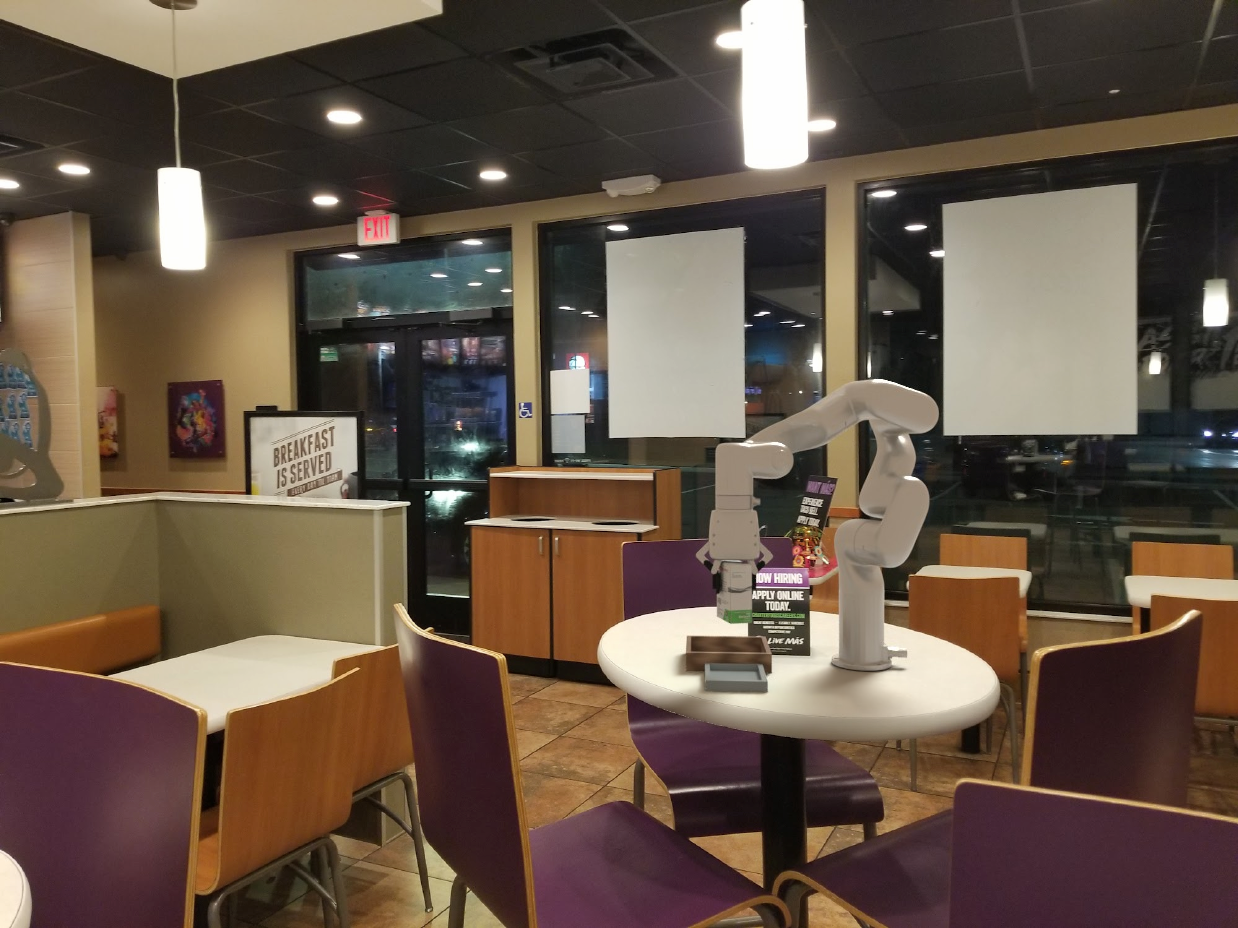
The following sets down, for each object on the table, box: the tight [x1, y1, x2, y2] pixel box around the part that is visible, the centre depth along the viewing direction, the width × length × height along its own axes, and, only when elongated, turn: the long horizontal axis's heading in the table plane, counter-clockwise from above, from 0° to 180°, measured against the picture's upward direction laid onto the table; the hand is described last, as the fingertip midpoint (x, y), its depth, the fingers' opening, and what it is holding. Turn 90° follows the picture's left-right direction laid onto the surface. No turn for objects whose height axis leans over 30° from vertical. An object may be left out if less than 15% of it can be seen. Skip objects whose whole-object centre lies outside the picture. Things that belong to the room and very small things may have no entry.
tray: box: [704, 663, 769, 693], centre depth 177 cm, size 12×14×2 cm
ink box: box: [716, 560, 753, 625], centre depth 177 cm, size 9×5×12 cm, turn 12°
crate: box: [685, 635, 773, 674], centre depth 193 cm, size 18×17×4 cm
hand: (734, 592), depth 176 cm, fingers closed on ink box, 6 cm apart
